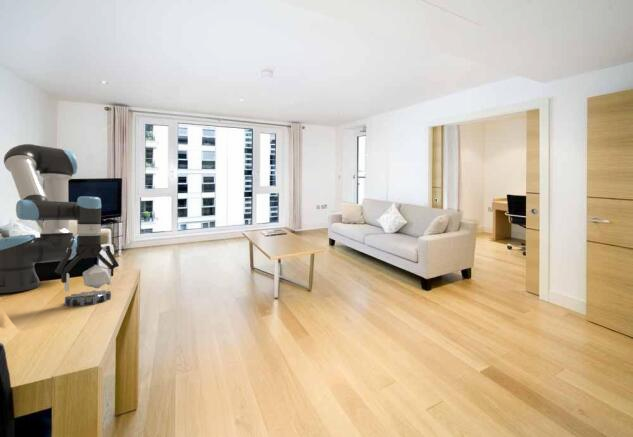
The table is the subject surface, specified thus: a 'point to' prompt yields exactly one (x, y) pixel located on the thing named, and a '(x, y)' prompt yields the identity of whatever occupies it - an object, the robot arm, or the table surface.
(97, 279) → the die
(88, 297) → the gear plate
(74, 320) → the table surface
